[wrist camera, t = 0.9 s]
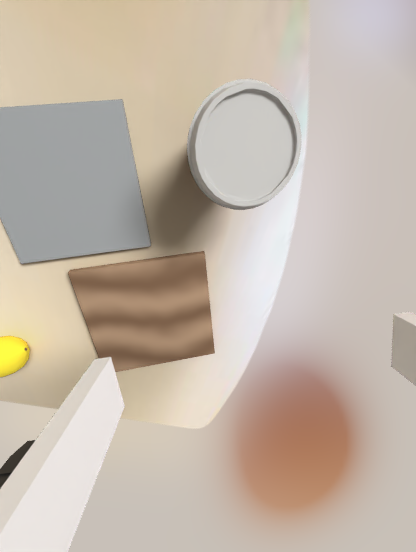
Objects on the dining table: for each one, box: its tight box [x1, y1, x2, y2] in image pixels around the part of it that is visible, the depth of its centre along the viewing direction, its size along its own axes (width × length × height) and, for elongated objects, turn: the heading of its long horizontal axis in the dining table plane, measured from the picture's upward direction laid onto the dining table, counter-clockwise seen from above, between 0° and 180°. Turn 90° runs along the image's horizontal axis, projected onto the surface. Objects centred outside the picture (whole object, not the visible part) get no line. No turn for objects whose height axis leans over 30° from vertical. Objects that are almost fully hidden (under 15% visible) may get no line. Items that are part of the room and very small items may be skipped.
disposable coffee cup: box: [187, 79, 301, 210], centre depth 24 cm, size 10×10×12 cm
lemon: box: [0, 336, 30, 377], centre depth 33 cm, size 7×5×5 cm
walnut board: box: [68, 251, 215, 372], centre depth 37 cm, size 18×18×1 cm
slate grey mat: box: [0, 99, 151, 264], centre depth 28 cm, size 16×16×1 cm
